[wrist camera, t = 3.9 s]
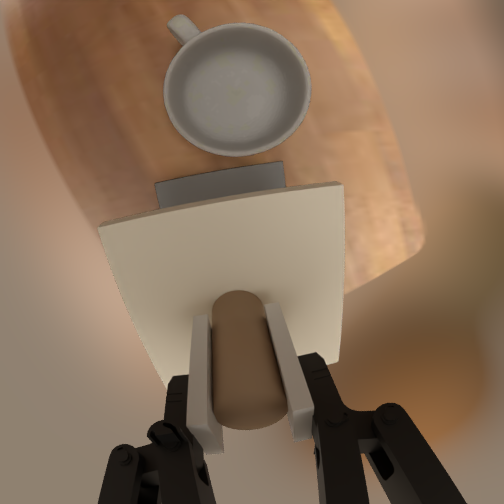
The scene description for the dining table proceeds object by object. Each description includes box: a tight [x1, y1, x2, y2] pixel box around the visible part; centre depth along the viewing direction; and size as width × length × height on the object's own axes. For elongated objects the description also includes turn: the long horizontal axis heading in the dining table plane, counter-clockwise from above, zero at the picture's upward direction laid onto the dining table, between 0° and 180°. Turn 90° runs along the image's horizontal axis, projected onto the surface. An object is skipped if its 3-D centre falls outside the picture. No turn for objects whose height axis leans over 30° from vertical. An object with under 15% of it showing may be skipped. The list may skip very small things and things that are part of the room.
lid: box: [97, 181, 345, 430], centre depth 13 cm, size 13×13×8 cm
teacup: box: [163, 15, 311, 157], centre depth 20 cm, size 14×11×8 cm
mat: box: [155, 161, 286, 209], centre depth 29 cm, size 13×13×1 cm
